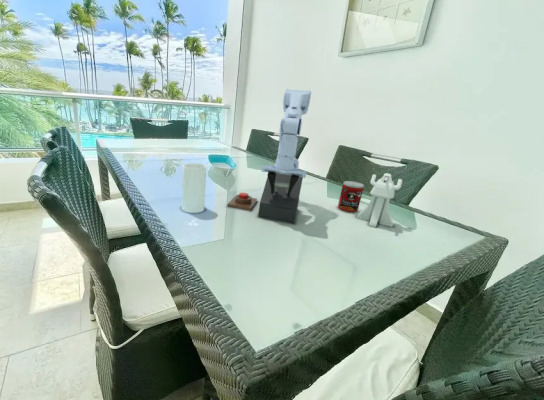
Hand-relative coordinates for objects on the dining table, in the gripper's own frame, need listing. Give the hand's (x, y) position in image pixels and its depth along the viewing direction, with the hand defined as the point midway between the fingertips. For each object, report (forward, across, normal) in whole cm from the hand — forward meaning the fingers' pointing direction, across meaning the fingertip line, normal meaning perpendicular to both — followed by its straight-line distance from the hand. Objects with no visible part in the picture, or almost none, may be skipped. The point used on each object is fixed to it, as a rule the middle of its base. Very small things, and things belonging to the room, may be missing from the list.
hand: (280, 194), depth 94 cm
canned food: (+9, +26, +24) cm, 36 cm away
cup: (+9, -30, -6) cm, 32 cm away
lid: (-1, 0, +5) cm, 5 cm away
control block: (+9, -15, +8) cm, 19 cm away
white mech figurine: (+9, +34, +14) cm, 38 cm away
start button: (+6, -15, +8) cm, 18 cm away
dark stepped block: (+9, 0, +5) cm, 10 cm away
